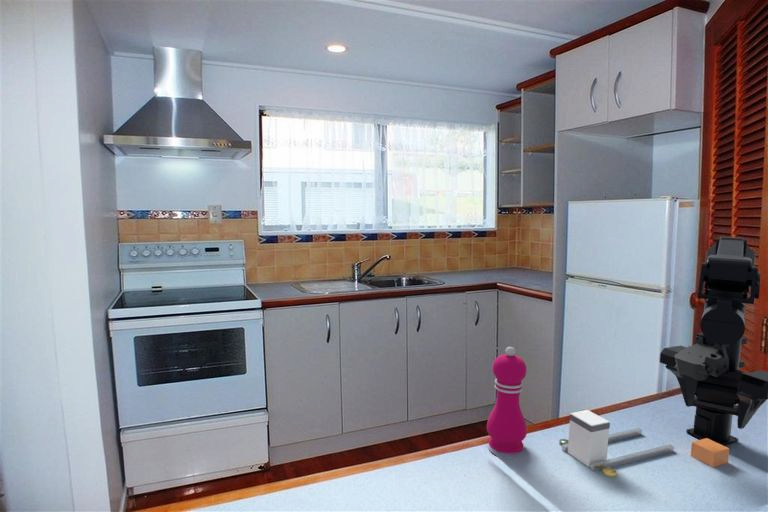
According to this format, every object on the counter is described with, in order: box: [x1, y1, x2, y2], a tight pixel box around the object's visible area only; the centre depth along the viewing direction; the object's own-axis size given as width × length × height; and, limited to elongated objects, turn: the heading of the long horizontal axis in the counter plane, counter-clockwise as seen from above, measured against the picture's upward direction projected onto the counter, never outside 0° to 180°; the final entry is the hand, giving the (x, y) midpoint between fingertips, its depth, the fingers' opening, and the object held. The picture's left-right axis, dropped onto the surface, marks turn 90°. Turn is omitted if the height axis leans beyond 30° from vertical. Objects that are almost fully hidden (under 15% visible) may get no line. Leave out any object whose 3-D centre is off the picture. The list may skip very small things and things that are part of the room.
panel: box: [558, 427, 675, 478], centre depth 90 cm, size 20×14×2 cm
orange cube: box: [690, 438, 730, 468], centre depth 87 cm, size 4×4×4 cm
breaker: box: [567, 409, 611, 468], centre depth 87 cm, size 4×5×8 cm
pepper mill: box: [486, 346, 528, 458], centre depth 90 cm, size 7×7×20 cm
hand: (713, 416), depth 86 cm, fingers open, 9 cm apart
